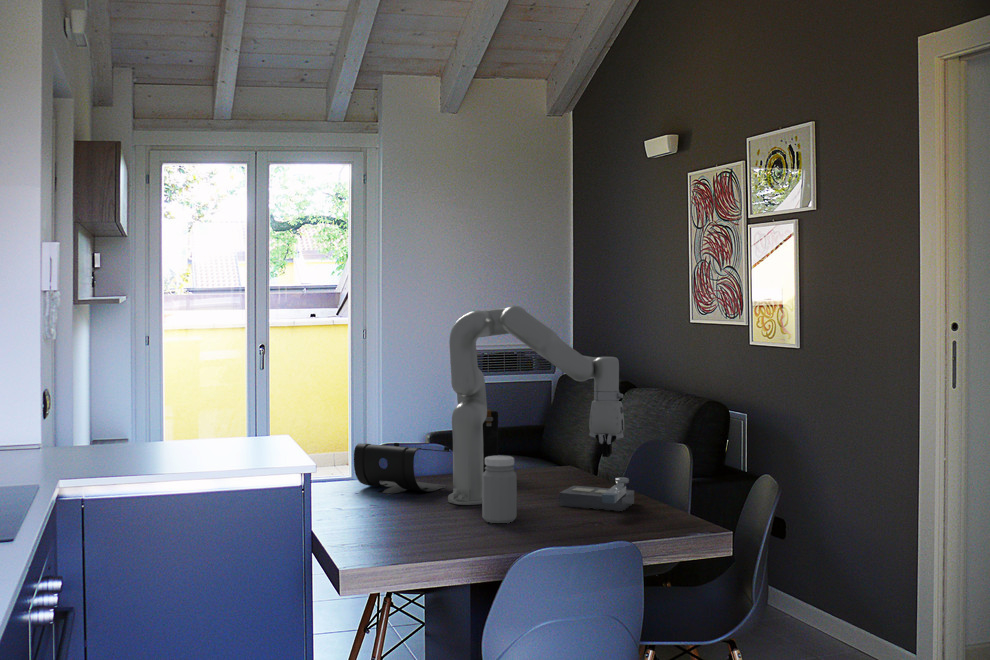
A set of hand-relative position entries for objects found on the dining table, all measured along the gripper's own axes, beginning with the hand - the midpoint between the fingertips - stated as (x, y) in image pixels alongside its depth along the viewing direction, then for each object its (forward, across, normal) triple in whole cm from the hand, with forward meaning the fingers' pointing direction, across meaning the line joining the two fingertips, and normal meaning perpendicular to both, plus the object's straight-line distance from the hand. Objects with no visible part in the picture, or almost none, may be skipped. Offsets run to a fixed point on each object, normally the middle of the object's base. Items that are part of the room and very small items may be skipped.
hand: (606, 456), depth 276 cm
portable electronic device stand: (+15, +71, +3) cm, 73 cm away
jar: (+15, +21, +33) cm, 42 cm away
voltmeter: (+15, +56, -27) cm, 64 cm away
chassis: (+15, +3, 0) cm, 15 cm away
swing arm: (+10, -6, +8) cm, 14 cm away
